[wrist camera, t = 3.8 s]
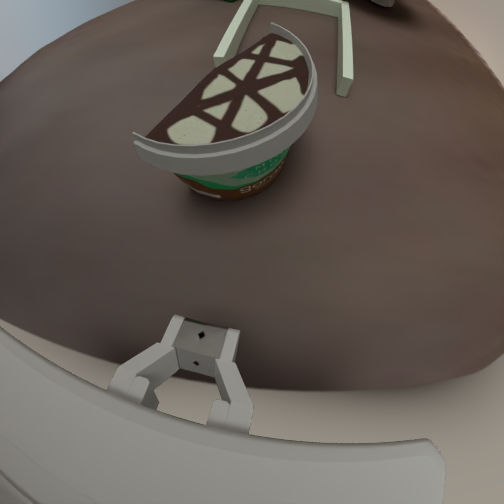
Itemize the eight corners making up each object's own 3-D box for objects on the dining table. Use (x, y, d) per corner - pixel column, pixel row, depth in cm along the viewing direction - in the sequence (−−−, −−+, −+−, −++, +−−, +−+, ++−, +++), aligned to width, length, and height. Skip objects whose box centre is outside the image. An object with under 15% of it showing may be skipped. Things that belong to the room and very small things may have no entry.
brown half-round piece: (237, 249, 21) (218, 212, 11) (178, 202, 21) (124, 140, 11) (327, 139, 22) (361, 60, 12) (270, 104, 22) (275, 19, 12)
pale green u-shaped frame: (216, 75, 23) (213, 56, 20) (252, 1, 25) (252, -14, 23) (345, 97, 22) (353, 79, 20) (344, 16, 25) (348, 2, 22)
